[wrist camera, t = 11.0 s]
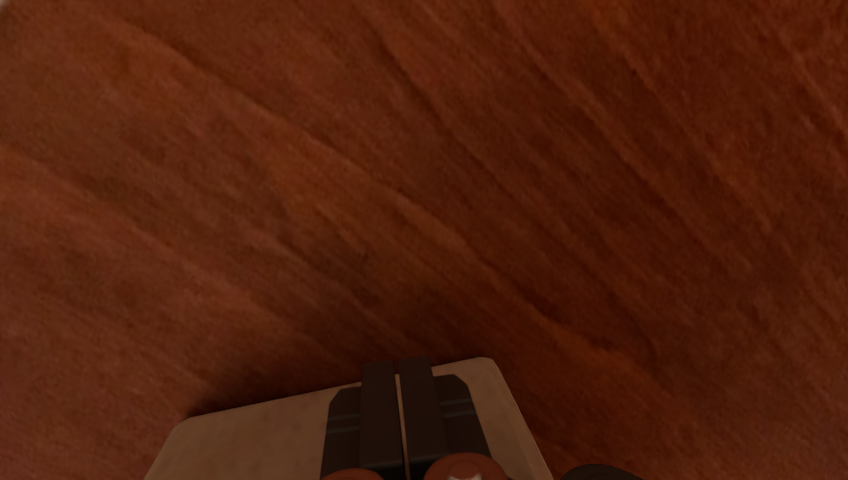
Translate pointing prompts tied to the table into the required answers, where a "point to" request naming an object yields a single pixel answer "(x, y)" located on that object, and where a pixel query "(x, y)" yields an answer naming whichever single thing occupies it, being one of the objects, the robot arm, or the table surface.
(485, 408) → the wooden block
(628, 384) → the table surface
